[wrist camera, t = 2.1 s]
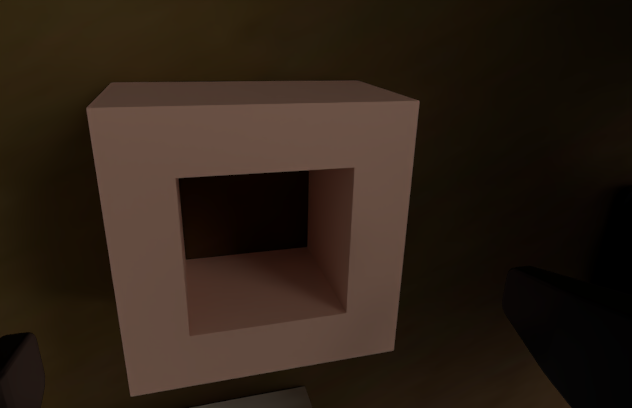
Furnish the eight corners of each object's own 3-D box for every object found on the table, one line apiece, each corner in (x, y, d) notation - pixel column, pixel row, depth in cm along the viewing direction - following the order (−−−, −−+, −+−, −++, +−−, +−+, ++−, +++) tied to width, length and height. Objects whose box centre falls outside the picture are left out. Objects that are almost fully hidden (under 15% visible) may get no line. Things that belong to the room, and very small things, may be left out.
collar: (357, 80, 14) (419, 100, 11) (346, 279, 17) (393, 350, 13) (110, 82, 12) (86, 107, 9) (140, 306, 15) (130, 396, 11)
